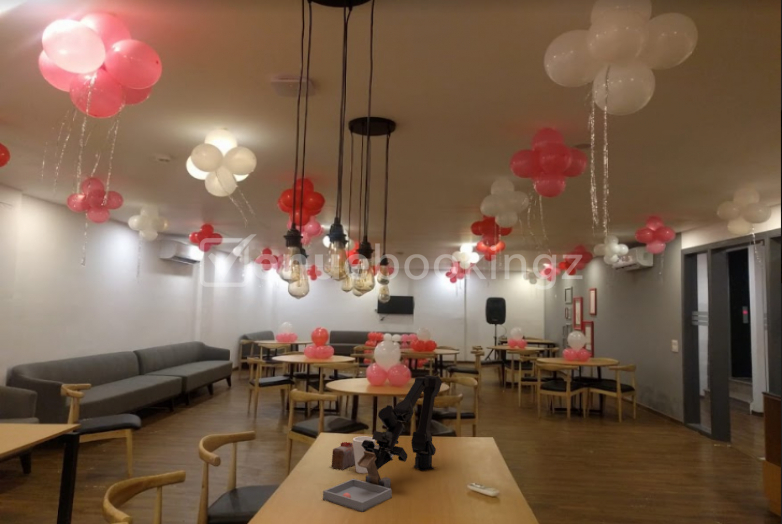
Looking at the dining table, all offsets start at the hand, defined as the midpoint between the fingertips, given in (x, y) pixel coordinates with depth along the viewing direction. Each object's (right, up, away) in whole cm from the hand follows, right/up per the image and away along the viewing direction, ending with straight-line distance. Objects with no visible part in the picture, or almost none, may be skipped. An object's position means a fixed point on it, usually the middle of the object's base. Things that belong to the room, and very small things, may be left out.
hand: (374, 470), depth 200 cm
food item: (-13, -10, +30) cm, 34 cm away
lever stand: (+1, -8, +1) cm, 8 cm away
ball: (-9, -4, -13) cm, 17 cm away
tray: (-6, -7, -9) cm, 12 cm away
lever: (+1, -7, +1) cm, 7 cm away
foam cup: (-5, -9, +23) cm, 25 cm away
